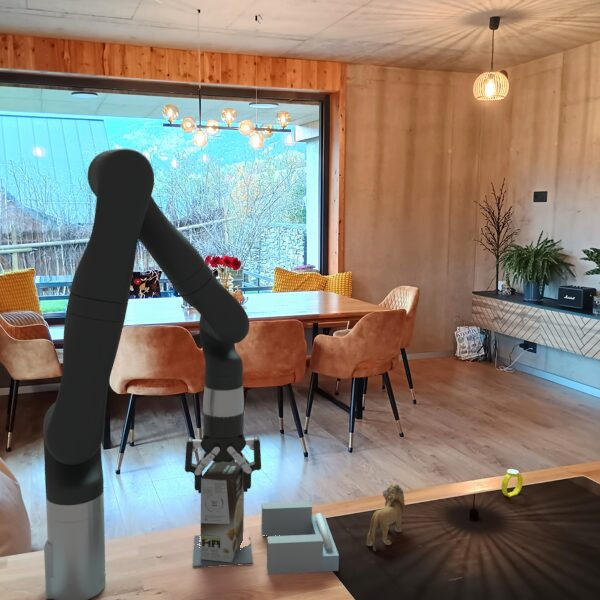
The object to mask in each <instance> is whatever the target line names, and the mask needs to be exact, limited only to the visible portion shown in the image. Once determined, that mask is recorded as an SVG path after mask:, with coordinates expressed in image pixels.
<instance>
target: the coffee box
mask: <svg viewBox="0 0 600 600" xmlns="http://www.w3.org/2000/svg"><path fill="white" fill-rule="evenodd" d="M243 472H244V470H243V468H242V467H241V466H240V465H239V464H238V463H237V462H236V461H234V460H233V461H232V462H224V461H223V462H219V463H215V462H214V461H213V462H211V465H210V466H208V468H207V470H206V471H204V473H202V477H201V493H200V535H201V543H200V544H201V551H200V559H202V560H212V561H222V562H232V561H233V559H234V557H235V555H236V553H237V551H238V549H239V547H240V545H241V543H242V541H243V533H244V528H245V527H244V523H245V522H244V518H245V517H244V516H245V515H244V513H245V492H244V490H243Z"/></svg>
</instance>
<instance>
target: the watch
mask: <svg viewBox="0 0 600 600" xmlns="http://www.w3.org/2000/svg"><path fill="white" fill-rule="evenodd" d="M512 477H514V478H515V477H516V478H517V479H516V480H517V481H516V485H515V488H514V489H513V490H512V491H510V492H508V484H509V482H510V480H511V478H512ZM523 481H524V480H523V476H522V474H521V473H520V472H519V470H517V469H513V468H509V469H506V474H505V475H504V476H503V479H502V482H501V491H502V493H503V495H504V496H506V497H508V498H512V497H514V496H517V495H519V494H520V492H521V490H522V487H523V485H524V484H523V483H524V482H523Z"/></svg>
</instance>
